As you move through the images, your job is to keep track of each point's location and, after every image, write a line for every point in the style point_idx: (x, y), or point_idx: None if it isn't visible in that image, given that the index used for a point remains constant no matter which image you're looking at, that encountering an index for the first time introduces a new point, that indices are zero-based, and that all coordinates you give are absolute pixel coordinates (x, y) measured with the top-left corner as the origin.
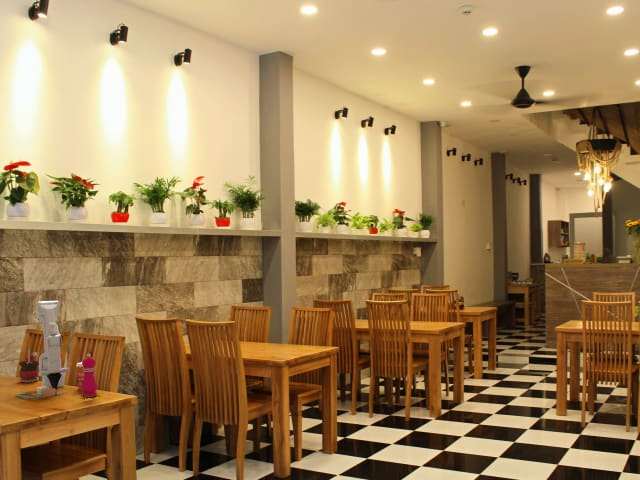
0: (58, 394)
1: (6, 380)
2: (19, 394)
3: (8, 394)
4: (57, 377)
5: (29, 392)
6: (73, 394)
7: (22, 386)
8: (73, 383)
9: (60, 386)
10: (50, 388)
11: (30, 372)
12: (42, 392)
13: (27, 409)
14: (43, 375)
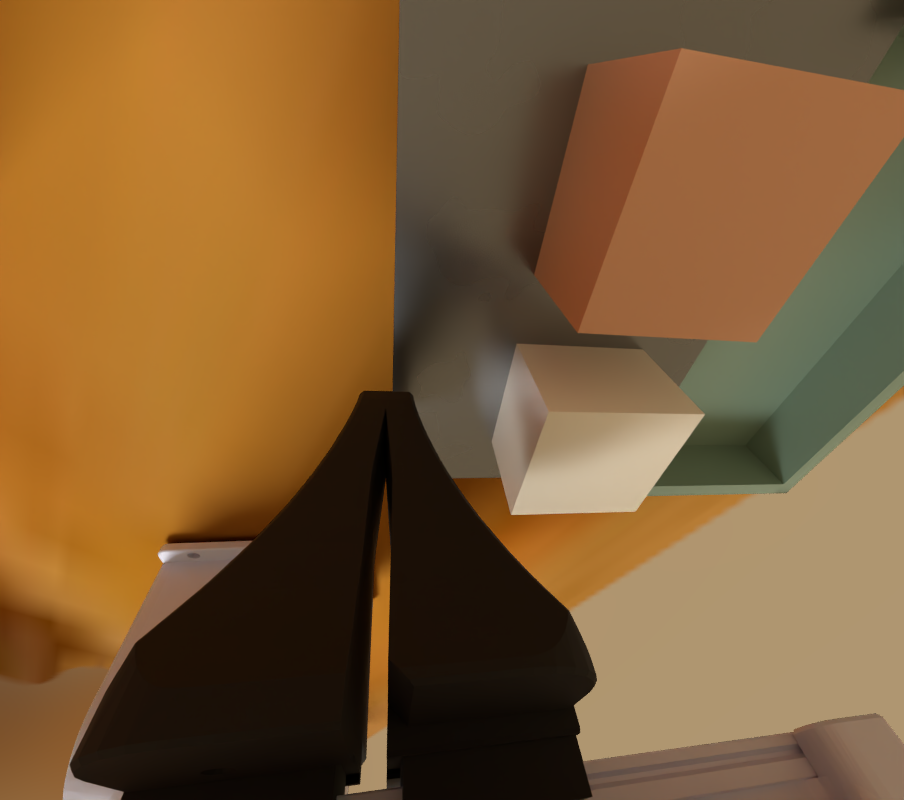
0: (521, 22)
1: None
2: (760, 480)
3: None
4: (342, 592)
5: (661, 484)
6: (88, 92)
7: (370, 689)
8: (40, 654)
9: (196, 581)
10: (715, 199)
11: None
12: (632, 366)
13: None
14: (750, 741)
